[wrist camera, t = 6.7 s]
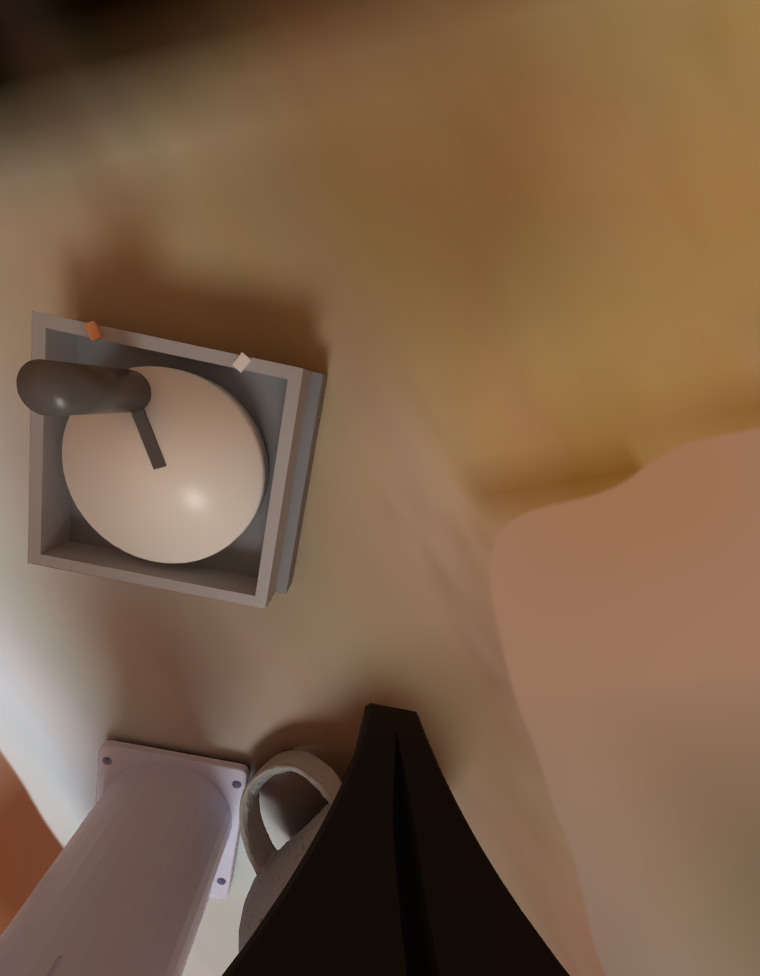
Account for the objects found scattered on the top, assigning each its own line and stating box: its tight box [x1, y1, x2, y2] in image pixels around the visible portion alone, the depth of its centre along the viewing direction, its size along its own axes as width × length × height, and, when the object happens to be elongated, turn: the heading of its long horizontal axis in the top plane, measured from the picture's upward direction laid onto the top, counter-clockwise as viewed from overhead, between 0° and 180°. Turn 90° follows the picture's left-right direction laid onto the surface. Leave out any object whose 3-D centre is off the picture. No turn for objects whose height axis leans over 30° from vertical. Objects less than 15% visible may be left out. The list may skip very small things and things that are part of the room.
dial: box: [17, 359, 268, 564], centre depth 15 cm, size 8×8×5 cm
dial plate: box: [28, 311, 327, 609], centre depth 17 cm, size 10×11×3 cm
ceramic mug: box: [239, 750, 342, 952], centre depth 19 cm, size 11×8×8 cm
